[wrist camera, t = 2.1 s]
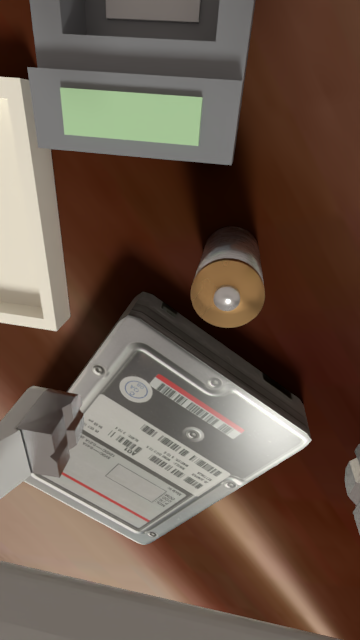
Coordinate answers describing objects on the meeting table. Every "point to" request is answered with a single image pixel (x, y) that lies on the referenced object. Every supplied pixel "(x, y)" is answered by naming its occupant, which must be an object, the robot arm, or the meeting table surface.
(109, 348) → the hard drive
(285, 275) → the meeting table surface
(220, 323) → the cell
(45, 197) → the trough
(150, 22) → the checker cradle
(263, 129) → the meeting table surface
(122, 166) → the meeting table surface
